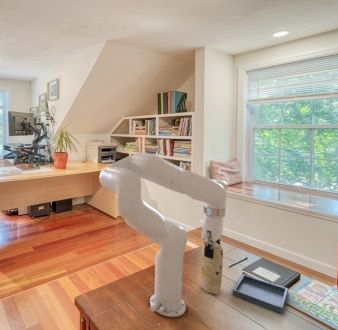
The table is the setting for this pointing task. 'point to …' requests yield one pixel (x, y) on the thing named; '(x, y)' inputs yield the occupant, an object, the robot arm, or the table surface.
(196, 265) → the table surface
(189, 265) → the table surface
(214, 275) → the food model
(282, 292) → the serving tray
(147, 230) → the robot arm
